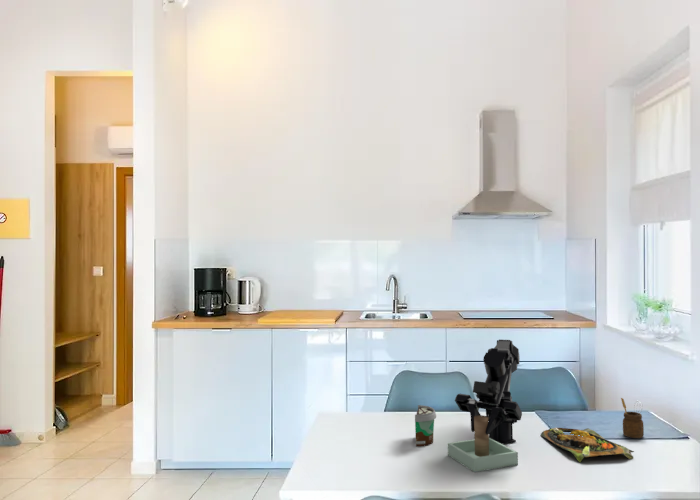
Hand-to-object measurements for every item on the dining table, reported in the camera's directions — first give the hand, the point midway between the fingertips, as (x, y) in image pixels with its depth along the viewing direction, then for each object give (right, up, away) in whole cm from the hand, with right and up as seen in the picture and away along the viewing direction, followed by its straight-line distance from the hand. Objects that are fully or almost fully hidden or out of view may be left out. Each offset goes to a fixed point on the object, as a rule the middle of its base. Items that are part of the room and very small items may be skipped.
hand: (479, 432), depth 156 cm
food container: (-12, -9, +17) cm, 23 cm away
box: (+1, -8, +1) cm, 8 cm away
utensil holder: (+54, -8, +20) cm, 58 cm away
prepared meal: (+34, -9, +12) cm, 37 cm away
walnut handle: (+1, -7, +1) cm, 7 cm away
